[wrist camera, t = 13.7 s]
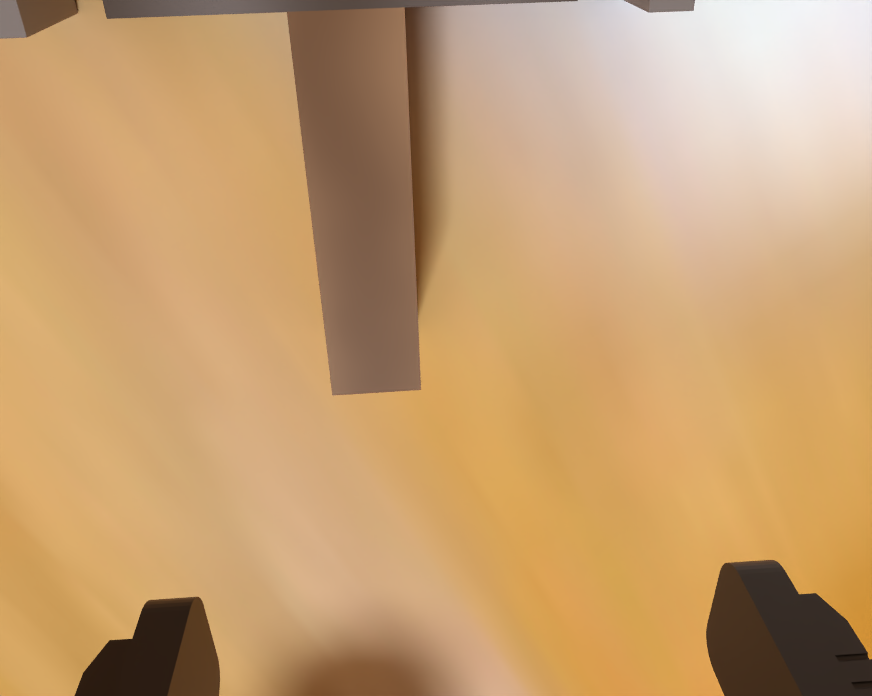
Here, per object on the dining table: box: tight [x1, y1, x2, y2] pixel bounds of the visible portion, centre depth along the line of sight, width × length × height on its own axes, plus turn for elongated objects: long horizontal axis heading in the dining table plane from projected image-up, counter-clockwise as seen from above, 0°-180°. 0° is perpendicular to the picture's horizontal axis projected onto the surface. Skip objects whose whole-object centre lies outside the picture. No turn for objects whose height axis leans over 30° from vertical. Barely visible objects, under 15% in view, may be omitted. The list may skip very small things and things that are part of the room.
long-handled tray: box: [103, 0, 578, 395], centre depth 23 cm, size 12×16×4 cm
